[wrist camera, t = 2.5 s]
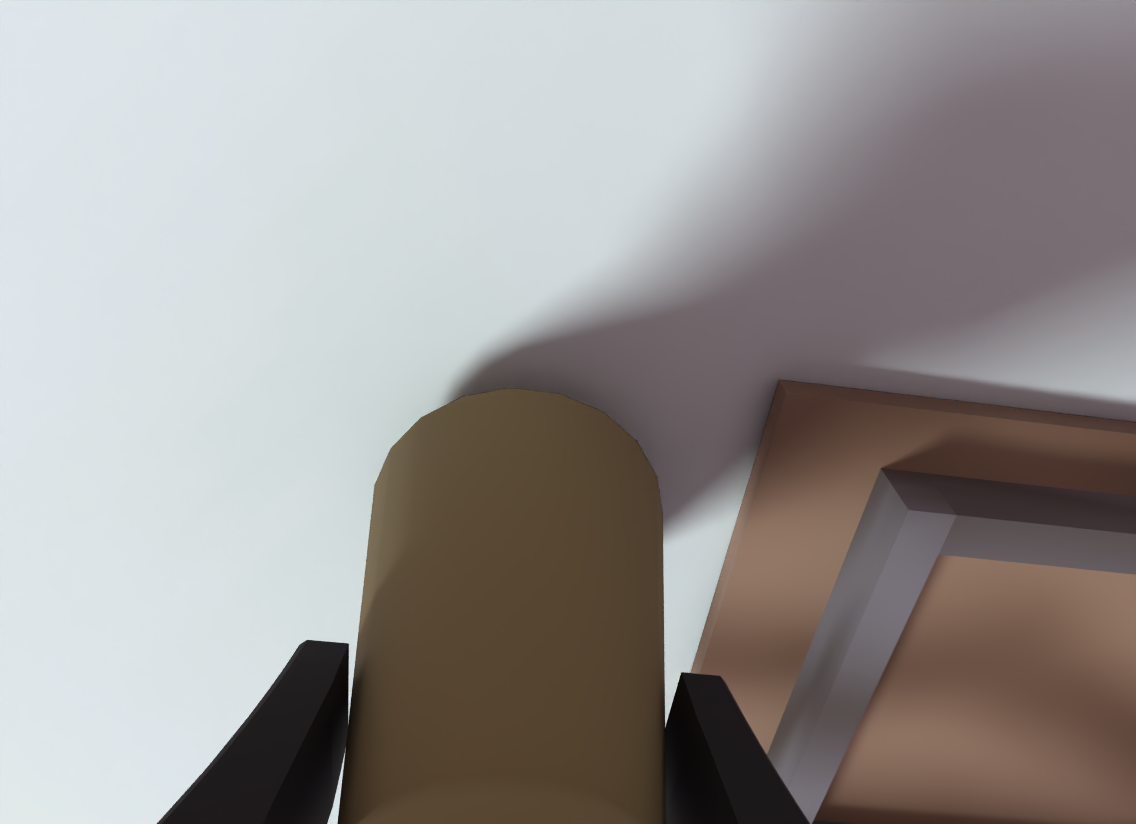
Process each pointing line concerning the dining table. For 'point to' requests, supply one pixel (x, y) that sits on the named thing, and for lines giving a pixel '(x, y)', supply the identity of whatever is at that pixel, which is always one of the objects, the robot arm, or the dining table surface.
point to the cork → (511, 623)
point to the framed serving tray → (935, 610)
